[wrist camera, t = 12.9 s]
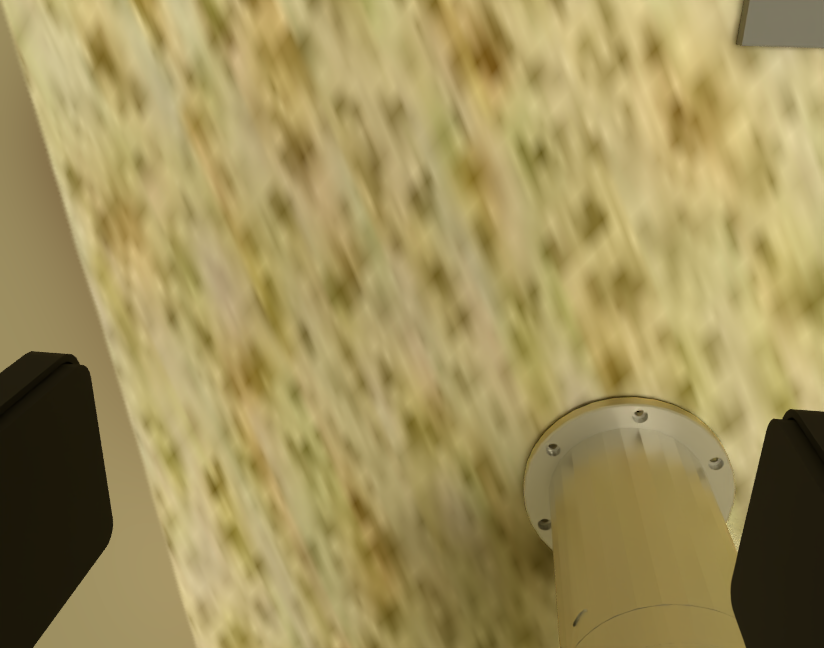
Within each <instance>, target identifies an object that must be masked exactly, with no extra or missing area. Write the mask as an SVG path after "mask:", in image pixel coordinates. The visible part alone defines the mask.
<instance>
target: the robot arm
mask: <svg viewBox="0 0 824 648" xmlns="http://www.w3.org/2000/svg"><path fill="white" fill-rule="evenodd" d="M638 410H642V411H640V412H636V411H638ZM550 444H555V445H550ZM735 488H736V486H735V479H734V472H733V468H732V466H731V463H730V460H729V458H728V455H727V453H726V451H725V449H724V447H723V446H722V444H721V442H720V440H719V439H718V437H717V436H716V435H715V434H714V433H713V432H712V430H711V429H710V428H709V427H708V426H707V425H706V424H705V423H703V422H702V421H701V420H699V419H698V418H697V417H696V416H694V415H693V414H691V413H689V412H687V411H685V410H683V409H681V408H679V407H677V406H675V405H672V404H669V403H666V402H662V401H659V400H655V399H647V398H639V397H625V398H612V399H607V400H602V401H598V402H593V403H591V404H588V405H586V406H583V407H581V408H578V409H576V410H574V411H572V412H570V413H569V414H567V415H566V416H564V417H562V418H561V419H559V420H558V421H557V422H556V423H554V424H553V425H552V426H551V427H550V428H549V429H548V430H547V431H546V432H545V433H544V434H543V435H542V437H541V438H540V439H539V441H538V442H537V443H536V445H535V446H534V448H533V450H532V452H531V454H530V457H529V459H528V461H527V465H526V469H525V474H524V500H525V508H526V511H527V514H528V517H529V519H530V522H531V525H532V526H533V528H534V529H535V531H536V532H537V534H538V535H539V537H540V538H541V539H542V540H543V542H544V543H545V544H546V545H547V546H548V547H549V548H550V549H551V550H552V551H553V558H554V572H555V586H556V600H557V614H558V628H559V642H560V648H824V412H820V411H807V410H794V409H790V410H788V411H787V412H786V413H785V415H784V416H783V419H772V420H771V421H770V423H769V425H768V427H767V431H766V435H765V439H764V443H763V448H762V452H761V456H760V460H759V465H758V469H757V473H756V477H755V482H754V486H753V490H752V494H751V499H750V503H749V507H748V512H747V516H746V520H745V524H744V529H743V533H742V537H741V541H740V546H739V550H738V553H737V550H736V548H735V545H734V543H733V540H732V538H731V535H730V533H729V530H728V528H727V525H726V523H727V521H728V519H729V516H730V513H731V510H732V507H733V505H734V497H735ZM112 529H113V517H112V511H111V505H110V498H109V491H108V486H107V478H106V472H105V466H104V459H103V453H102V447H101V440H100V434H99V427H98V420H97V414H96V407H95V401H94V394H93V389H92V382H91V376H90V372H89V370H88V368H87V367H86V366H84V365H80V364H79V362H78V360H77V358H76V357H75V356H73V355H72V354H60V353H46V352H34V351H31V352H29V353H27V354H25V355H24V356H22V357H21V358H20V359H18V360H17V361H16V362H14V363H13V364H12V365H10V366H9V367H8V368H6V369H5V370H4V371H3V372H1V373H0V648H33V647H34V645H35V644H36V643H37V641H38V640H39V638H40V637H41V636H42V634H43V633H44V632H45V630H46V629H47V628H48V626H49V625H50V624H51V622H52V621H53V619H54V618H55V617H56V615H57V614H58V613H59V611H60V610H61V608H62V607H63V606H64V604H65V603H66V602H67V600H68V599H69V597H70V596H71V594H72V593H73V592H74V591H75V589H76V588H77V586H78V585H79V584H80V582H81V581H82V580H83V578H84V577H85V576H86V574H87V573H88V571H89V570H90V569H91V567H92V566H93V565H94V563H95V562H96V560H97V559H98V558H99V556H100V555H101V554H102V552H103V551H104V550H105V548H106V547H107V545H108V543H109V540H110V538H111V534H112Z"/></svg>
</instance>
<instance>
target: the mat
mask: <svg viewBox="0 0 824 648" xmlns="http://www.w3.org/2000/svg"><path fill="white" fill-rule="evenodd" d="M736 44H738V45H742V46H772V47H803V48H824V0H744V4H743V10H742V15H741V21H740V27H739V32H738V38H737V43H736Z"/></svg>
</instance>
